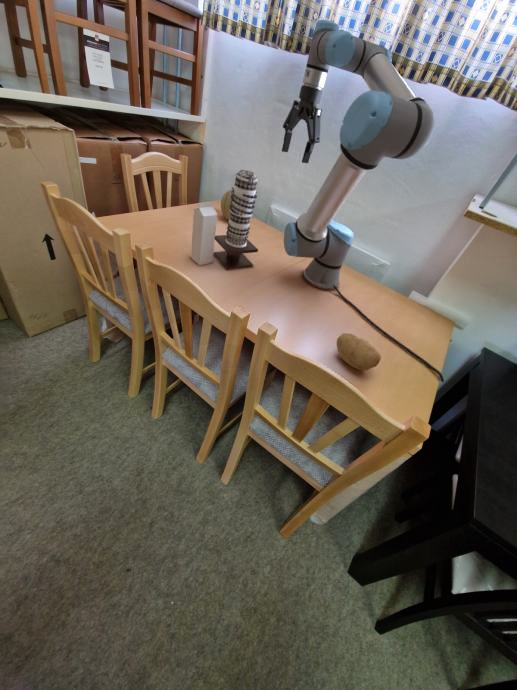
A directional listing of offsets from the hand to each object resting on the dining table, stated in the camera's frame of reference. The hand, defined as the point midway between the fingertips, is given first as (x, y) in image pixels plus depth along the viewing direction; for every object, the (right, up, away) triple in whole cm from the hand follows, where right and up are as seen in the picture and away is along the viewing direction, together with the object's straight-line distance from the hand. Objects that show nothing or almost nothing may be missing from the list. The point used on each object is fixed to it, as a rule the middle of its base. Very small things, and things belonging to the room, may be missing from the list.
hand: (294, 157), depth 115 cm
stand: (-25, -39, +6) cm, 47 cm away
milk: (-37, -41, 0) cm, 55 cm away
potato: (+14, -79, -24) cm, 84 cm away
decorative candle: (-23, -34, 0) cm, 41 cm away
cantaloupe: (-27, -10, +36) cm, 46 cm away
